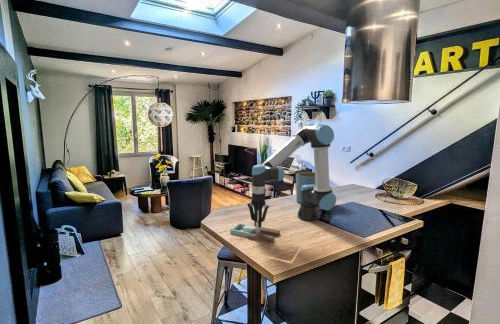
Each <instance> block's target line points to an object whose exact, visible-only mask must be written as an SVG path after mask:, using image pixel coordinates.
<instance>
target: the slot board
mask: <svg viewBox="0 0 500 324" xmlns="http://www.w3.org/2000/svg"><path fill="white" fill-rule="evenodd" d="M280 233H281V230H280V229H275V228H274V229H273V228H268V227H263V226H261V227H260V232H259V233H258V234H257V233H252V232H251V233H249V234H248V237H247V239H249V240H254V241H259V242H263V243H268V244H272V243H273V242H274V241H275V240H276V239H277V237H278V236H279V235H280Z"/></svg>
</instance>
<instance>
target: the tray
mask: <svg viewBox="0 0 500 324" xmlns="http://www.w3.org/2000/svg"><path fill="white" fill-rule="evenodd" d="M245 225H248V226H252V225H250V224H245V223H239V222H238V224H236V225H234V226H233V227H232V228H231V229H230V230H229V231H230V232H229V233H230V234H231V235H237V236H242V237H245V238H248V234H249V233H248V232H244V231H243V230H239V229H243V227H244V226H245Z"/></svg>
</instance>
